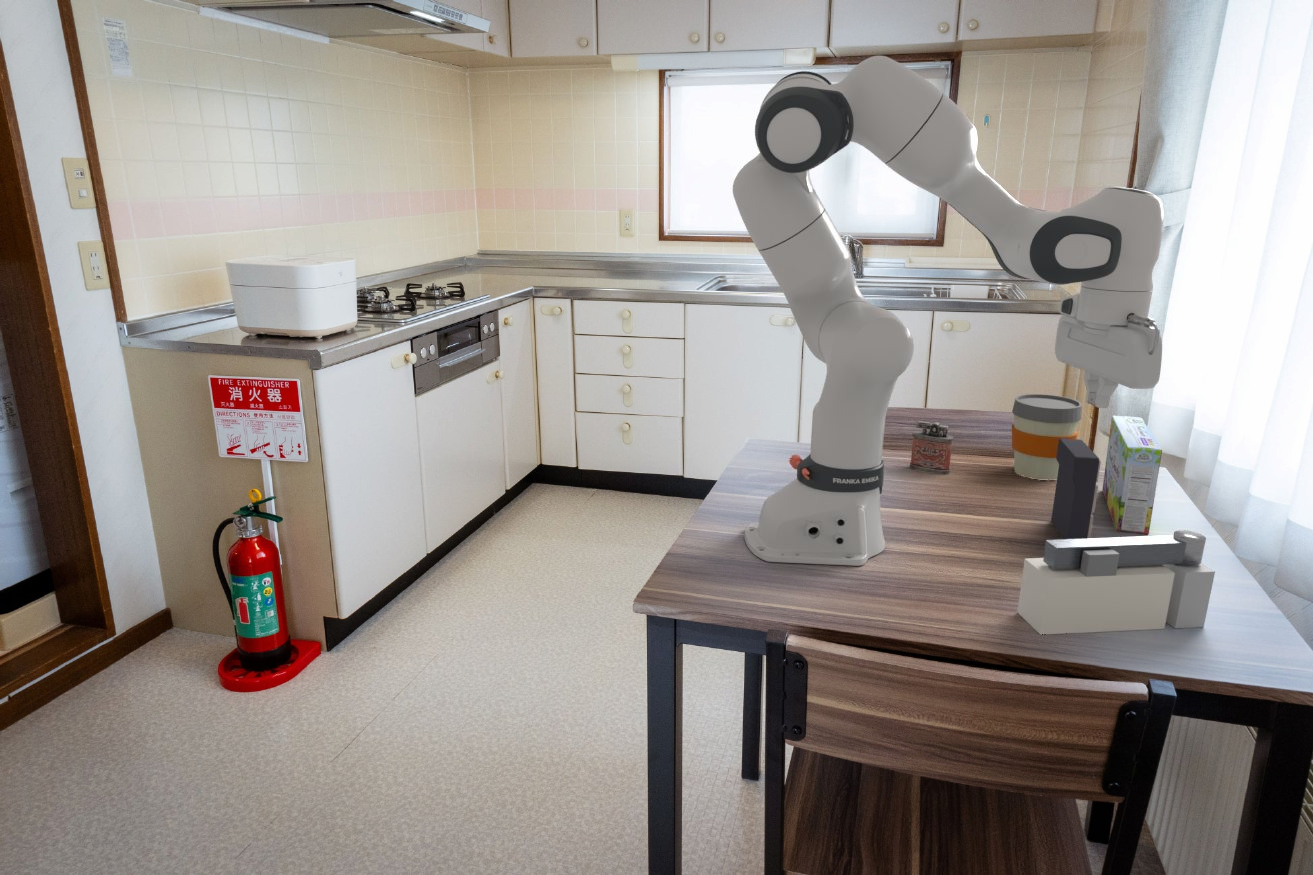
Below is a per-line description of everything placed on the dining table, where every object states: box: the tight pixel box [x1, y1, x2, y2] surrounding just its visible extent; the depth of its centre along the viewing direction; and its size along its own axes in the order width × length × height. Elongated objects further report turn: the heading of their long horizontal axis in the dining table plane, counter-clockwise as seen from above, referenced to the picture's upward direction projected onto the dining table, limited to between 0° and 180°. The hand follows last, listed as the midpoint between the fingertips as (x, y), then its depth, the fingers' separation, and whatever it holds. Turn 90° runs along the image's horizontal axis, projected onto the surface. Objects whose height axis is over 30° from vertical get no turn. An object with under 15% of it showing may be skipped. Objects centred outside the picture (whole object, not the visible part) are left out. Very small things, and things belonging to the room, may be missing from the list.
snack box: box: [1101, 415, 1163, 535], centre depth 151 cm, size 21×6×15 cm, turn 160°
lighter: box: [909, 420, 955, 476], centre depth 173 cm, size 8×3×10 cm, turn 58°
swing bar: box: [1043, 529, 1207, 569], centre depth 112 cm, size 21×4×3 cm, turn 96°
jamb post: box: [1163, 562, 1216, 629], centre depth 114 cm, size 4×6×8 cm, turn 5°
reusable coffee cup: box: [1011, 393, 1083, 480], centre depth 170 cm, size 13×13×15 cm
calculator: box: [1050, 438, 1102, 540], centre depth 141 cm, size 11×4×15 cm, turn 168°
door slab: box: [1017, 549, 1175, 636], centre depth 113 cm, size 17×6×11 cm, turn 95°
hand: (1096, 405), depth 123 cm, fingers closed
